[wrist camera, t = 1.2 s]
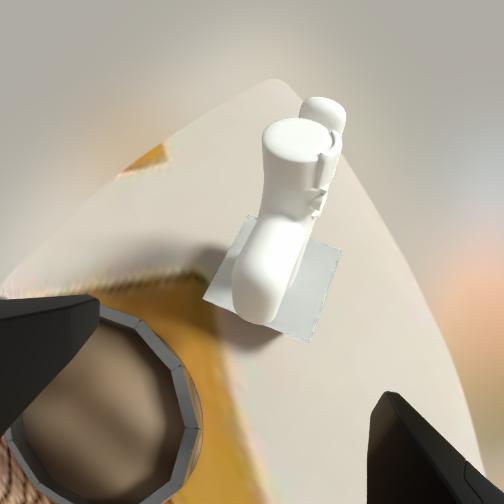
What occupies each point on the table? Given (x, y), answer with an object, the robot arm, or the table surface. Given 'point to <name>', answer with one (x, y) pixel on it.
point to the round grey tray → (70, 500)
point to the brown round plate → (110, 420)
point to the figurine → (286, 227)
